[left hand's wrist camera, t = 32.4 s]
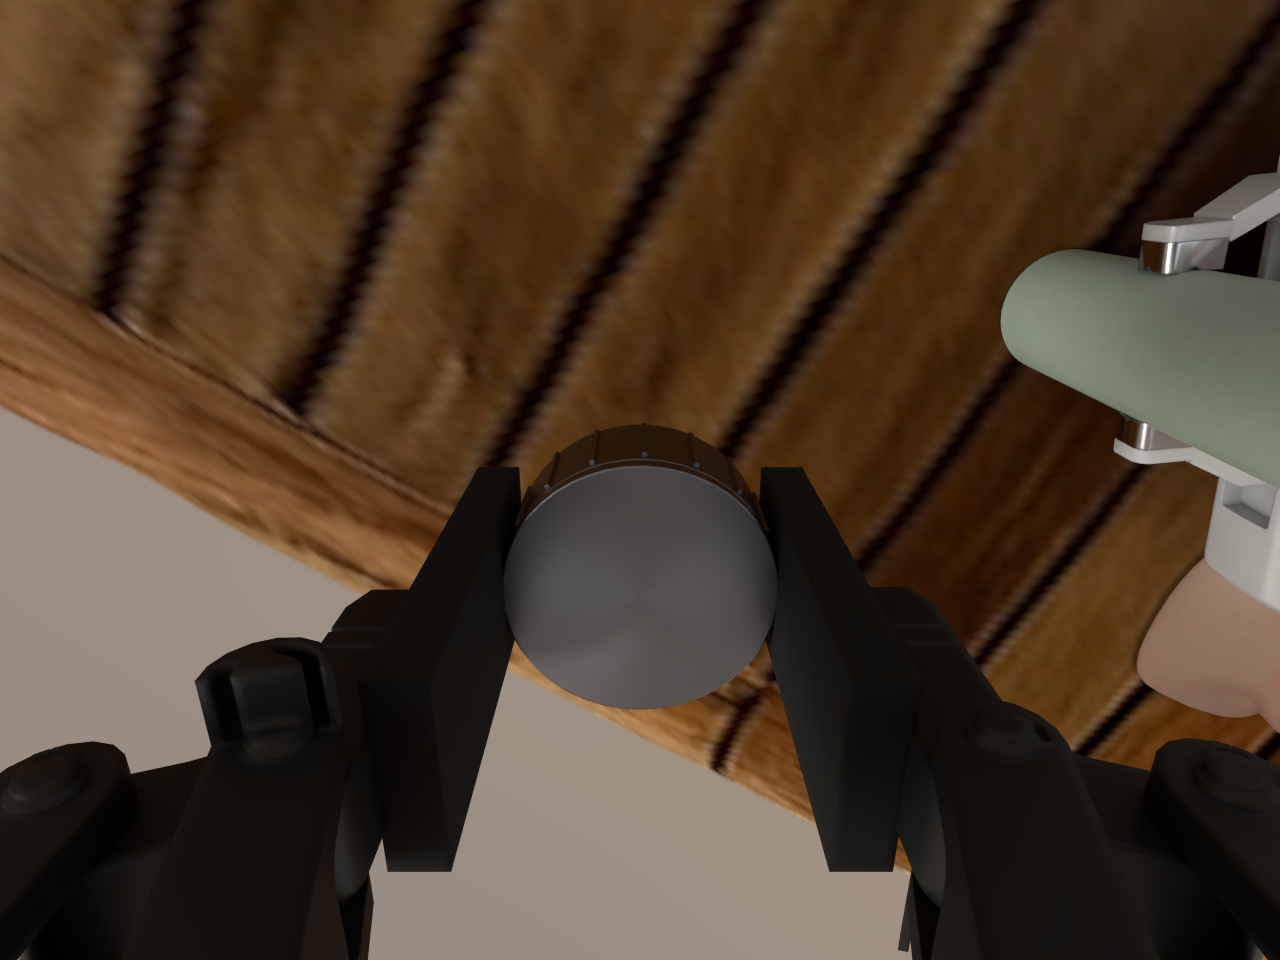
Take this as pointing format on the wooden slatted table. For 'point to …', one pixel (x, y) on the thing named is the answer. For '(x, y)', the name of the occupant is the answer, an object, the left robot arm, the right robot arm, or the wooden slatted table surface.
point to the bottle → (1159, 348)
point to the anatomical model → (1214, 649)
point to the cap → (640, 569)
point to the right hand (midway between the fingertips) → (1136, 348)
